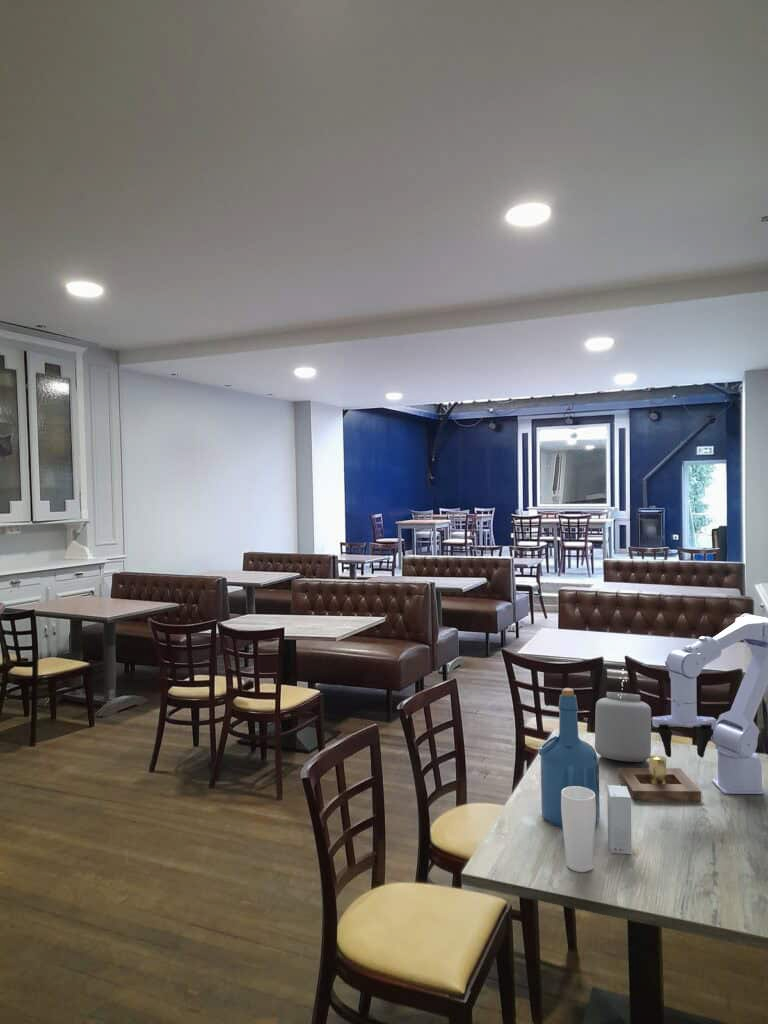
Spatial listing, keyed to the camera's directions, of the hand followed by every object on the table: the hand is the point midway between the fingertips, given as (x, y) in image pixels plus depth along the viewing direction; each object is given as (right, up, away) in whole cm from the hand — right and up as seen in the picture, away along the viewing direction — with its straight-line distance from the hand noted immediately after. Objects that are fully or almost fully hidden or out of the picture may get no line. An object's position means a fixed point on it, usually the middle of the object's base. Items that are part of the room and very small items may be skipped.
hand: (684, 755), depth 168 cm
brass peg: (-4, -10, +5) cm, 12 cm away
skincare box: (-23, -12, -22) cm, 34 cm away
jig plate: (-4, -10, +6) cm, 13 cm away
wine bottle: (-30, -12, -8) cm, 34 cm away
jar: (-6, -10, +26) cm, 28 cm away
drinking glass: (-34, -12, -29) cm, 46 cm away
